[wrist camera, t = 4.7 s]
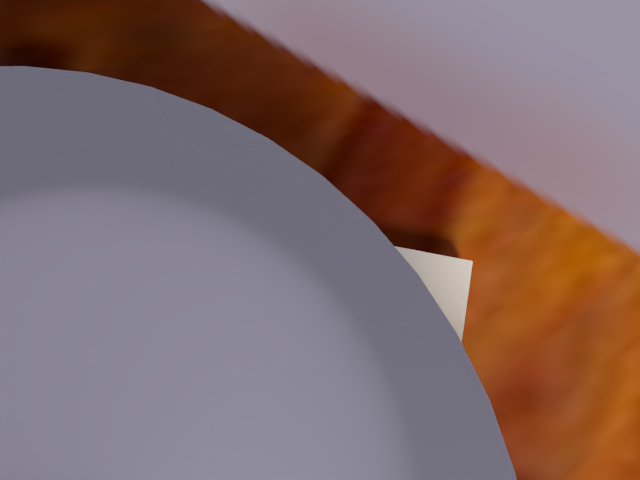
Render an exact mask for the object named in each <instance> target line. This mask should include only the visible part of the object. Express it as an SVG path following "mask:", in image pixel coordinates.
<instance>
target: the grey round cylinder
mask: <svg viewBox="0 0 640 480" xmlns="http://www.w3.org/2000/svg"><path fill="white" fill-rule="evenodd" d="M0 480H517V479H516V474H515V471H514V468H513V465H512V463H511V460H510V457H509V454H508V451H507V448H506V445H505V442H504V440H503V437H502V434H501V431H500V428H499V425H498V422H497V420H496V417H495V414H494V411H493V408H492V405H491V402H490V400H489V398H488V396H487V394H486V392H485V390H484V387H483V385H482V383H481V381H480V379H479V377H478V375H477V373H476V371H475V369H474V367H473V365H472V363H471V361H470V359H469V357H468V355H467V353H466V351H465V349H464V347H463V345H462V343H461V341H460V339H459V337H458V335H457V333H456V331H455V330H454V328H453V327H452V325H451V324H450V322H449V321H448V319H447V318H446V316H445V315H444V313H443V311H442V310H441V308H440V307H439V305H438V304H437V302H436V301H435V299H434V298H433V296H432V295H431V293H430V292H429V290H428V289H427V287H426V286H425V284H424V283H423V281H422V280H421V278H420V276H419V275H418V273H417V272H416V271H415V270H414V269H413V268H412V266H411V265H410V264H409V263H408V262H407V261H406V259H405V258H404V257H403V256H402V255H401V254H400V252H399V251H398V250H397V249H396V248H395V247H394V245H393V244H392V243H391V242H390V241H389V240H388V238H387V237H386V236H385V235H384V234H383V233H382V231H381V230H380V229H379V228H378V227H377V226H376V224H375V223H374V222H373V221H372V220H371V219H370V218H369V217H368V216H367V215H365V214H364V213H363V212H362V211H361V210H360V209H359V208H358V207H357V206H356V205H354V204H353V203H352V202H351V201H350V200H349V199H348V198H347V197H346V196H344V195H343V194H342V193H341V192H340V191H339V190H338V189H337V188H336V187H334V186H333V185H332V184H331V183H330V182H329V181H328V180H327V179H326V178H325V177H323V176H322V175H321V174H319V173H318V172H316V171H315V170H314V169H312V168H311V167H309V166H308V165H306V164H305V163H303V162H302V161H301V160H299V159H298V158H296V157H295V156H293V155H292V154H290V153H289V152H288V151H286V150H285V149H283V148H282V147H280V146H279V145H277V144H276V143H275V142H273V141H272V140H270V139H269V138H267V137H265V136H263V135H261V134H259V133H257V132H255V131H253V130H251V129H249V128H248V127H246V126H244V125H242V124H240V123H238V122H236V121H234V120H232V119H230V118H228V117H226V116H224V115H222V114H220V113H218V112H217V111H215V110H213V109H211V108H208V107H205V106H202V105H200V104H197V103H194V102H191V101H189V100H186V99H183V98H180V97H178V96H175V95H172V94H169V93H167V92H164V91H161V90H158V89H156V88H153V87H150V86H145V85H141V84H136V83H132V82H128V81H123V80H119V79H114V78H110V77H106V76H101V75H97V74H92V73H88V72H78V71H68V70H58V69H48V68H38V67H28V66H0Z"/></svg>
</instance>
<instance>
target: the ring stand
mask: <svg viewBox="0 0 640 480" xmlns="http://www.w3.org/2000/svg"><path fill="white" fill-rule="evenodd" d="M394 247H395V248H396V249H397V250H398V251H399V252H400V254H401V255H402V256H403V257H404V258H405V259H406V261H407V262H408V263H409V264H410V265H411V266H412V268H413V269H414V270H415V271H416V272H417V273H418V275H419V276H420V278H421V280H422V281H423V283H424V284H425V286H426V287H427V289H428V290H429V292H430V293H431V295H432V296H433V298H434V299H435V301H436V302H437V304H438V305H439V307H440V308H441V310H442V311H443V313H444V315H445V316H446V318H447V319H448V321H449V322H450V324H451V325H452V327H453V328H454V330H455V331H456V333H457V335H458V337H459V339H460V341H461V343H462V336H463V329H464V321H465V314H466V307H467V299H468V292H469V285H470V277H471V270H472V263H473V261H470V260H465V259H459V258H454V257H449V256H444V255H438V254H433V253H428V252H423V251H417V250H412V249H407V248H402V247H396V246H394Z"/></svg>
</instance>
